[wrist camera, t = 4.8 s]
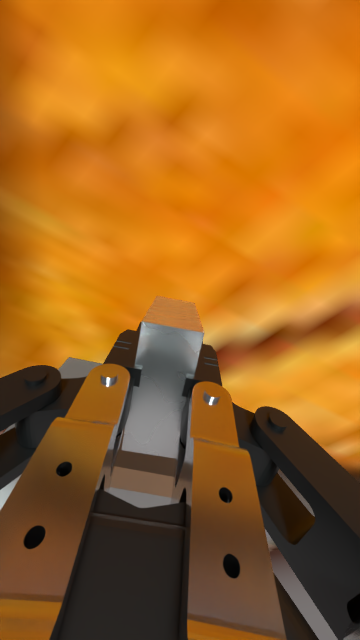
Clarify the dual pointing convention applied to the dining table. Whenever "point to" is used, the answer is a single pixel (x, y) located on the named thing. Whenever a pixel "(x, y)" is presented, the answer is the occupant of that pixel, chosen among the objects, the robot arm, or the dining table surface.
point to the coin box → (124, 462)
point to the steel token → (162, 376)
